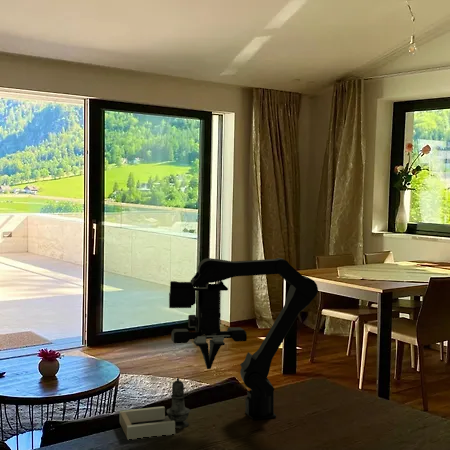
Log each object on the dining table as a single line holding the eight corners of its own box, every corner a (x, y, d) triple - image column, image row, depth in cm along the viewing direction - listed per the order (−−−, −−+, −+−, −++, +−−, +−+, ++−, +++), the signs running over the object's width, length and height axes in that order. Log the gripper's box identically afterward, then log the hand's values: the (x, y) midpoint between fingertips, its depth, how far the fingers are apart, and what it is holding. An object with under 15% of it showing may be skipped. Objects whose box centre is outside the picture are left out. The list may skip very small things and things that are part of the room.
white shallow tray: (163, 417, 170) (163, 406, 170) (175, 434, 158) (175, 422, 158) (119, 422, 166) (119, 410, 166) (127, 440, 155) (127, 427, 154)
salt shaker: (186, 429, 161) (186, 381, 161) (163, 428, 162) (163, 380, 162) (192, 421, 167) (192, 374, 166) (170, 420, 168) (169, 373, 168)
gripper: (237, 303, 178) (236, 361, 178) (168, 304, 174) (168, 363, 174) (247, 308, 167) (246, 370, 167) (174, 310, 164) (174, 373, 164)
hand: (208, 368), depth 168 cm, fingers closed
